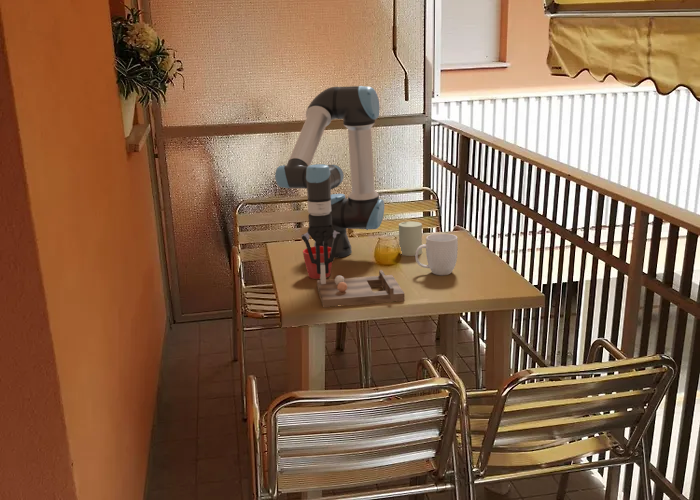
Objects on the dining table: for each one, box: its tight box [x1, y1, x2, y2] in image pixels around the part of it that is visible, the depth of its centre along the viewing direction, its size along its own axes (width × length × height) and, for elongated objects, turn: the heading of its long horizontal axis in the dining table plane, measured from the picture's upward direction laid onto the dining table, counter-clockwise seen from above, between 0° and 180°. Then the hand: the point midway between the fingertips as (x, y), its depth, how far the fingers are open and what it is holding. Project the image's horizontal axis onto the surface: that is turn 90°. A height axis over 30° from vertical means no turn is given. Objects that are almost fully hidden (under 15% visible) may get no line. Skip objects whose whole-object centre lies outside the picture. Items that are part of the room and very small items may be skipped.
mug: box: [414, 232, 459, 276], centre depth 256 cm, size 15×11×13 cm
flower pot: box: [302, 246, 333, 280], centre depth 258 cm, size 11×11×10 cm
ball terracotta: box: [337, 282, 347, 292], centre depth 233 cm, size 3×3×3 cm
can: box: [398, 220, 423, 257], centre depth 282 cm, size 9×9×12 cm
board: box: [316, 269, 406, 308], centre depth 238 cm, size 20×26×4 cm
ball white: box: [334, 275, 345, 285], centre depth 240 cm, size 3×3×3 cm
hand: (323, 282), depth 239 cm, fingers closed
